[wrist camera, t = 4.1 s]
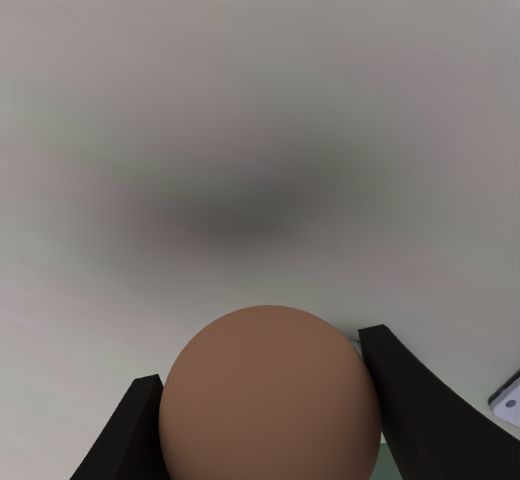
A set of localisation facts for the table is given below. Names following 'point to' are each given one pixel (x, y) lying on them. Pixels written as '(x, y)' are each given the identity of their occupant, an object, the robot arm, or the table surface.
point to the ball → (270, 402)
